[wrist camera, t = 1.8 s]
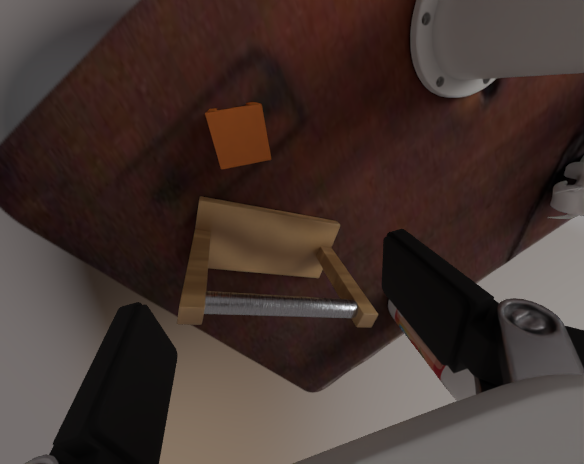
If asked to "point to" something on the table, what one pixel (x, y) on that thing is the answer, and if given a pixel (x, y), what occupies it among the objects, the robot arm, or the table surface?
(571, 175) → the elephant figurine
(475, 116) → the table surface
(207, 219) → the rail stand
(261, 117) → the clip
